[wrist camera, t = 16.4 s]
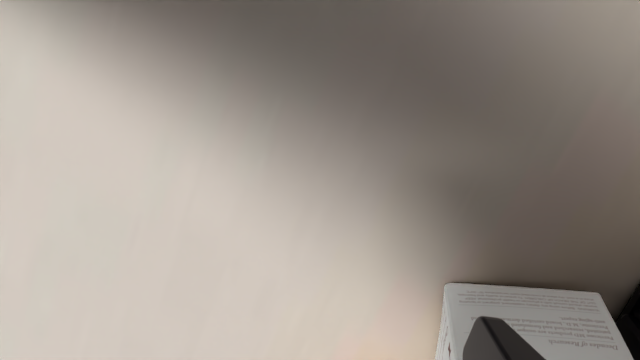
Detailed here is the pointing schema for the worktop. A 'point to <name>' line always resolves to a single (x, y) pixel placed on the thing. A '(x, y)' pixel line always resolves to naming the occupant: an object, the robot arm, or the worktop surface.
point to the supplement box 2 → (533, 321)
